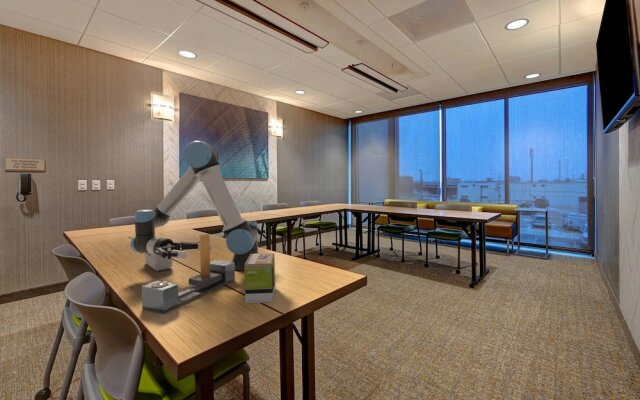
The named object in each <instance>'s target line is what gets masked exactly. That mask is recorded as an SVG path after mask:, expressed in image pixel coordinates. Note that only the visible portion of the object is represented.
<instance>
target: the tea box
mask: <svg viewBox="0 0 640 400" xmlns="http://www.w3.org/2000/svg"><path fill="white" fill-rule="evenodd" d="M275 258H276V257H275V252H269V253H268V252H267V253H259V254H250V256H249V258H248V259H247V261H246V263H245V264H244V270H243V271H244V298H245V303H246V304H264V302H270V303H273V302H274V296H275V293H276V292H275V291H276V266H275V265H276V264H275V263H276V262H275Z"/></svg>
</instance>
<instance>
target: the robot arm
mask: <svg viewBox="0 0 640 400" xmlns="http://www.w3.org/2000/svg"><path fill="white" fill-rule="evenodd" d="M219 159H220V156H219V151H218V150H217V149H216V147H214V146H213V145H211V144H210V143H207V142H206V141H202V140H201V141H200V140H194V141H192V142H189V143H188V144H186V146H185V147H184V149H183V160H184V162H185V164H187V165H188V166H189V167H188V169H187V170H186V171H185V172H184V174H182V175H181V177H180V178H179V179H178V180H177V182H176V183H175V184H174V185H173V186H172V188H171V189H170V190H169V191H168V193H167V194H166V195H165V196H164V197H163V199H162V200H161V201H160V202H159V204H158V205H157V206H156V208H155V209H138V210H136V211H134V229H135V230H134V231H135V233H134V234H135V235H134V237H133V238H132V239H131V241H130V245H129V246H130V249H131V250H132V251H133V252H135V253H139V254H144V255H145V254H154V255H156V256H158V255H159V256H161V257H162V258H166V256H168V259H171V256H172V258H176V259H186V251H187V250H198V251H200V240H199V241H180V242H174V241H173V240H172V239H170V238H165V237H164V238H163V237H157V236H156V234H155V233H156V231H155V230H156V228H159V227H163V226H165V225H167V224H168V223H169V221H170V217H171V216H173V214H174V213H175V211H176V210H177V209H178V207H179V206H181V204H182V203H183V201H184V200H185V199H186V198H187V196H189V194H190V193H191V192H192V191H193V190H194V188H195V187H196V186H197V185H198V183H199V182H200V181H201V183H202V184H203V186H204V188H205V190H206V192H207V194H208V196H209V198H210V200H211V202H212V204H213V207H214V208H215V210H216V212H217V214H218V217H219V218H220V221H221V222H222V225H223V227H222V233H223V235H224V237H225V245H226V247H227V249H228V250H229V251H230V252H231V253H233V255H232V259H231V262H235V271H244V264H245V263H246V261H247V259H248V258H249V256H250V254H260V253H259V237H258V236H259V235H258V234H259V231H258V229H259V226H258V222H257V221H248V220H247V219H246V218H242V216H241V214H240V212H239V209H238V207H237V205H236V203H235V201H234V199H233V197H232V195H231V192H230V191H229V188H228V187H227V184H226V183H225V180H224V179H223V176H222V174H221V172H220V168H221V164H220V162H219ZM211 251H212V244H211V243H210V252H211Z"/></svg>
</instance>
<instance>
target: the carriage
mask: <svg viewBox="0 0 640 400" xmlns="http://www.w3.org/2000/svg"><path fill="white" fill-rule="evenodd" d="M199 241H200V250H199V253H200V254H199V255H200V274H197V275H195V276H192V277H188V285H189V286H191V285H194V286H200V287H206V286H208V285H211V284H213V283H215V282H217V281H220V280H222V274H220V273H213V272H210V262H211V251H210V244H211V243H210V234H209V233H203V234H200V235H199Z"/></svg>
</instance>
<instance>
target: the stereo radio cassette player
mask: <svg viewBox="0 0 640 400" xmlns="http://www.w3.org/2000/svg"><path fill="white" fill-rule="evenodd" d="M144 256H145V258H144V259H145V260H144V261H145V264H146V265H147V266H148V267H150V268H152V269H153V270H154V271H156V272H159V271H164V270H170V269H171V268H172V267H173V257H172V256H171V259H168V256H166V258H162V257H161V256H159V255H158V256H156V255H154V254H145V253H144Z"/></svg>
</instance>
